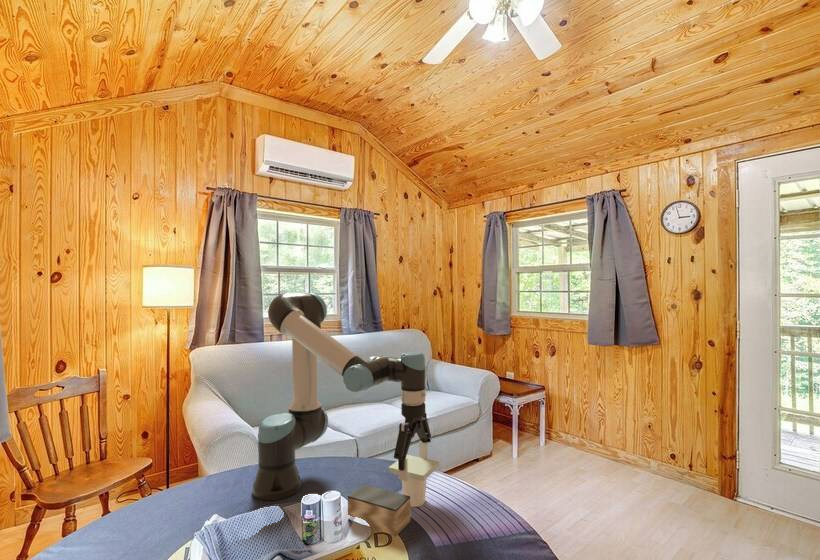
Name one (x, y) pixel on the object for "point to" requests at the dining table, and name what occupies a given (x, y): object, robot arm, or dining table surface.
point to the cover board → (417, 467)
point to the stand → (380, 508)
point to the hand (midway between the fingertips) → (413, 471)
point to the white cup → (415, 491)
